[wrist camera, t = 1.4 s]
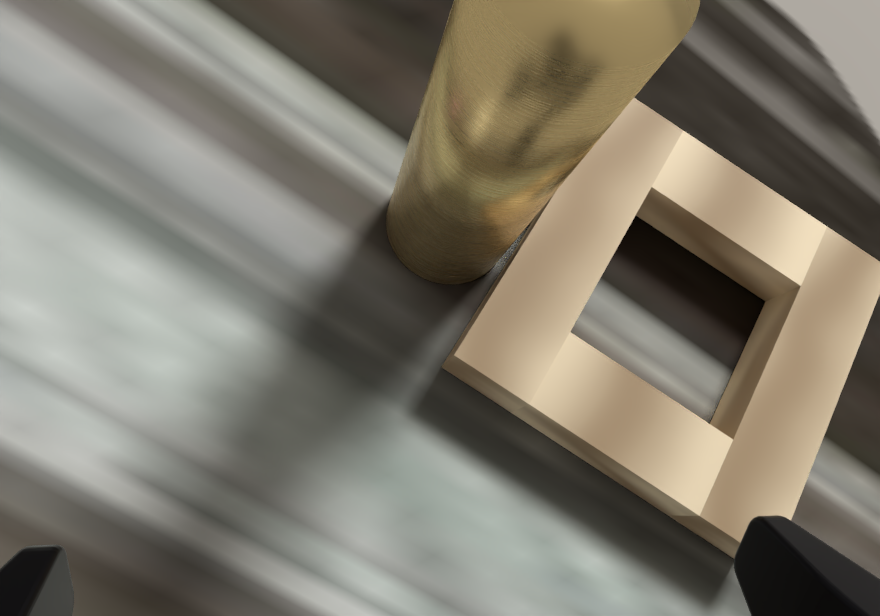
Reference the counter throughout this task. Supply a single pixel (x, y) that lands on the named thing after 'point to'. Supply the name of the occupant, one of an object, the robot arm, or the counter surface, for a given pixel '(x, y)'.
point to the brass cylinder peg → (516, 119)
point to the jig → (632, 399)
